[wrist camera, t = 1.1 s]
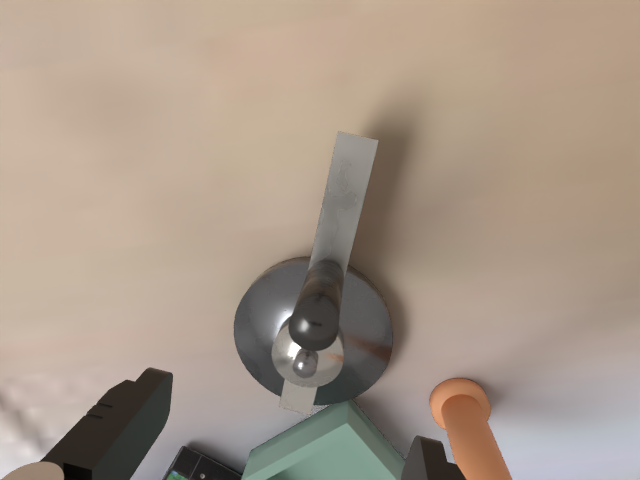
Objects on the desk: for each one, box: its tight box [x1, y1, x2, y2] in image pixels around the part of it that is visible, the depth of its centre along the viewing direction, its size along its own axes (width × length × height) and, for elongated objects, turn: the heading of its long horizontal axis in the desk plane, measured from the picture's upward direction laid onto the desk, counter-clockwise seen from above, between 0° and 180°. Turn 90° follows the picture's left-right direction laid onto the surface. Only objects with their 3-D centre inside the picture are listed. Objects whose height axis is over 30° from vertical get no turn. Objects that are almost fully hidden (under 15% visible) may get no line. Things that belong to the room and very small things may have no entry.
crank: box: [272, 131, 379, 415], centre depth 22 cm, size 20×5×8 cm, turn 168°
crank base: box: [234, 257, 393, 405], centre depth 28 cm, size 12×12×2 cm
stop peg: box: [430, 378, 512, 480], centre depth 24 cm, size 4×4×12 cm
